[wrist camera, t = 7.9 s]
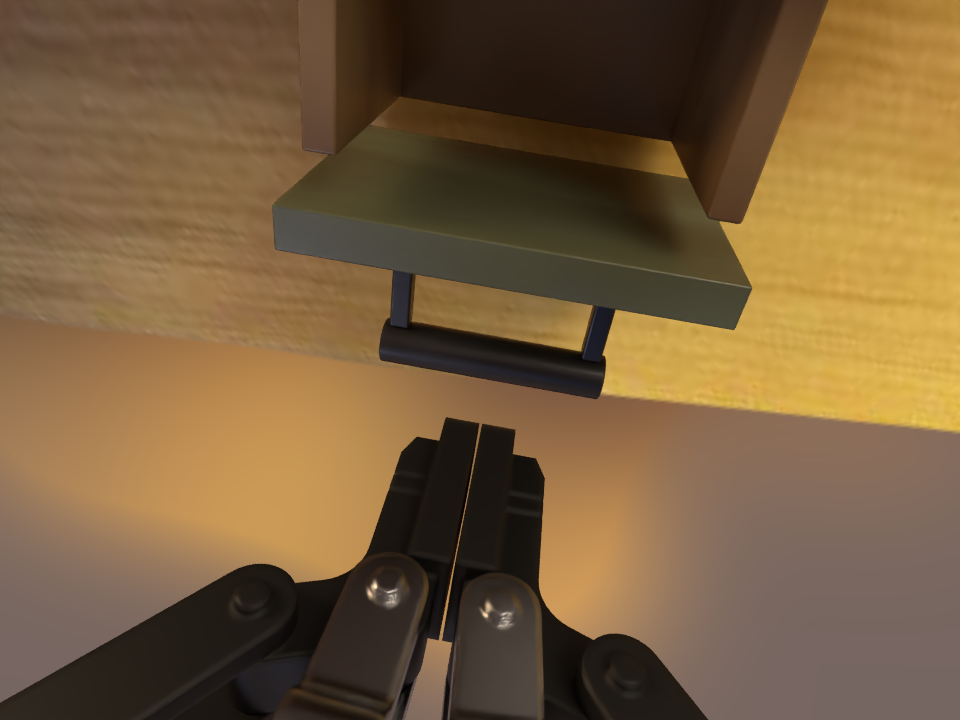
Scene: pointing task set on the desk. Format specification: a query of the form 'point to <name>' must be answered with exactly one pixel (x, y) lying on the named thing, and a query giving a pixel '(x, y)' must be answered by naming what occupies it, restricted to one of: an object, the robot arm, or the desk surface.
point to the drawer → (541, 160)
